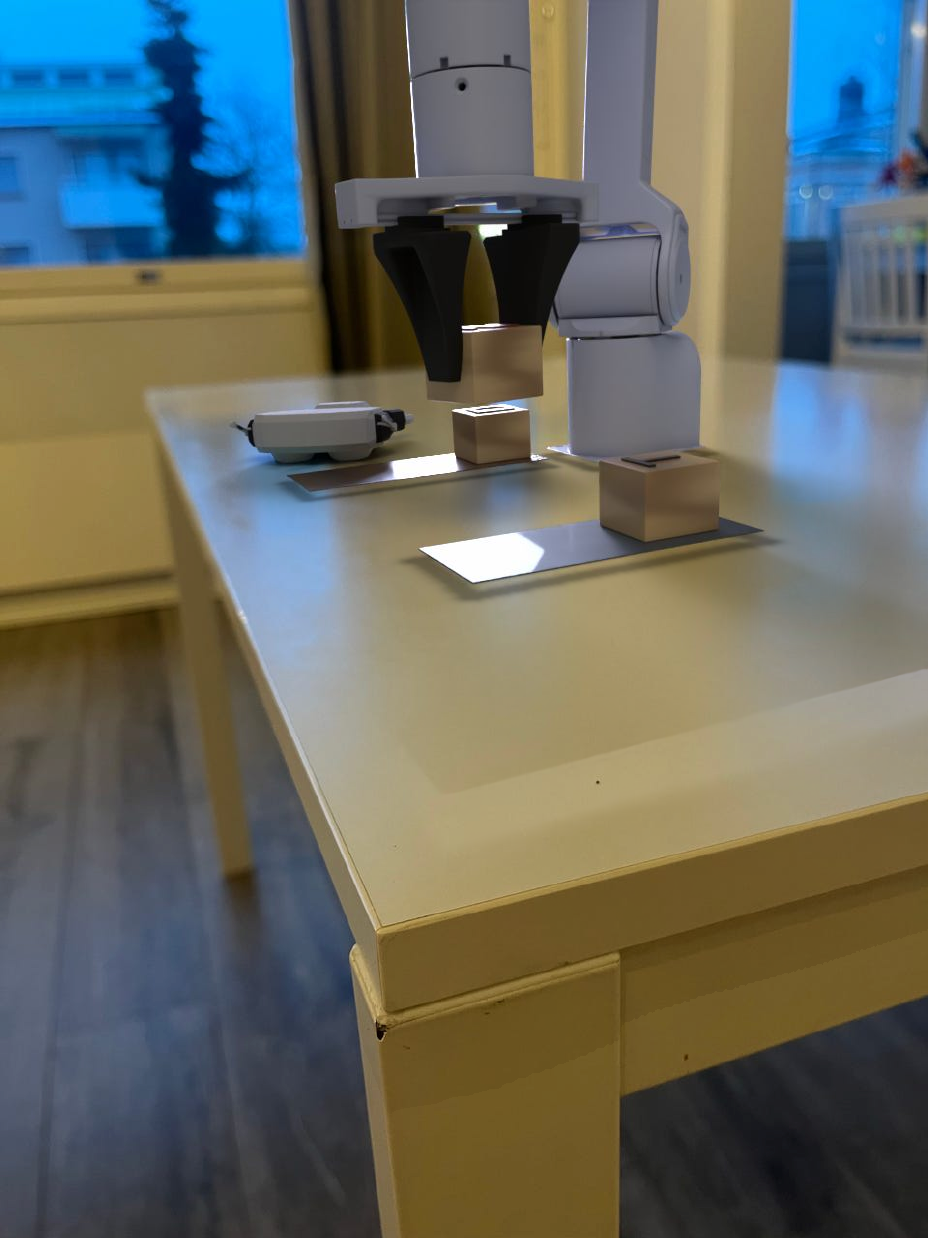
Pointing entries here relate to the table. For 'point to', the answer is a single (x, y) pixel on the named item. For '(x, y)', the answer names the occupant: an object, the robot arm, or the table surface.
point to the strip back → (393, 471)
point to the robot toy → (324, 431)
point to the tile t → (659, 495)
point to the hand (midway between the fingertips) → (484, 376)
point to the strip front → (557, 549)
